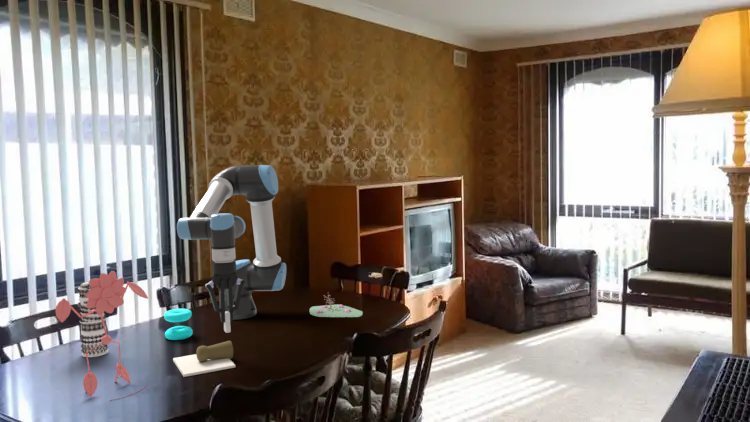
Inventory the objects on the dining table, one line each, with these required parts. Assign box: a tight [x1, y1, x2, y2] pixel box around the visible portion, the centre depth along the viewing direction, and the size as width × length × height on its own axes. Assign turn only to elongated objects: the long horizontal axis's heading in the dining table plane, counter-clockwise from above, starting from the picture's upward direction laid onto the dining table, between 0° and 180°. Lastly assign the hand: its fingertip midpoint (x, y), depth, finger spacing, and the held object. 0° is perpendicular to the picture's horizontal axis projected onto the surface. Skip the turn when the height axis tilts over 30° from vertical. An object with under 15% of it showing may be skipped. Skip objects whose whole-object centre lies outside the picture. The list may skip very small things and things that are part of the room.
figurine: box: [55, 270, 149, 402], centre depth 175 cm, size 15×26×35 cm, turn 143°
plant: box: [309, 291, 364, 318], centre depth 262 cm, size 25×21×9 cm
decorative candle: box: [76, 281, 109, 358], centre depth 212 cm, size 9×9×25 cm
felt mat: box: [172, 353, 236, 378], centre depth 199 cm, size 18×16×1 cm
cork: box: [195, 340, 234, 362], centre depth 201 cm, size 6×6×11 cm
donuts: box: [163, 308, 194, 341], centre depth 230 cm, size 10×10×10 cm
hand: (227, 331), depth 202 cm, fingers closed
